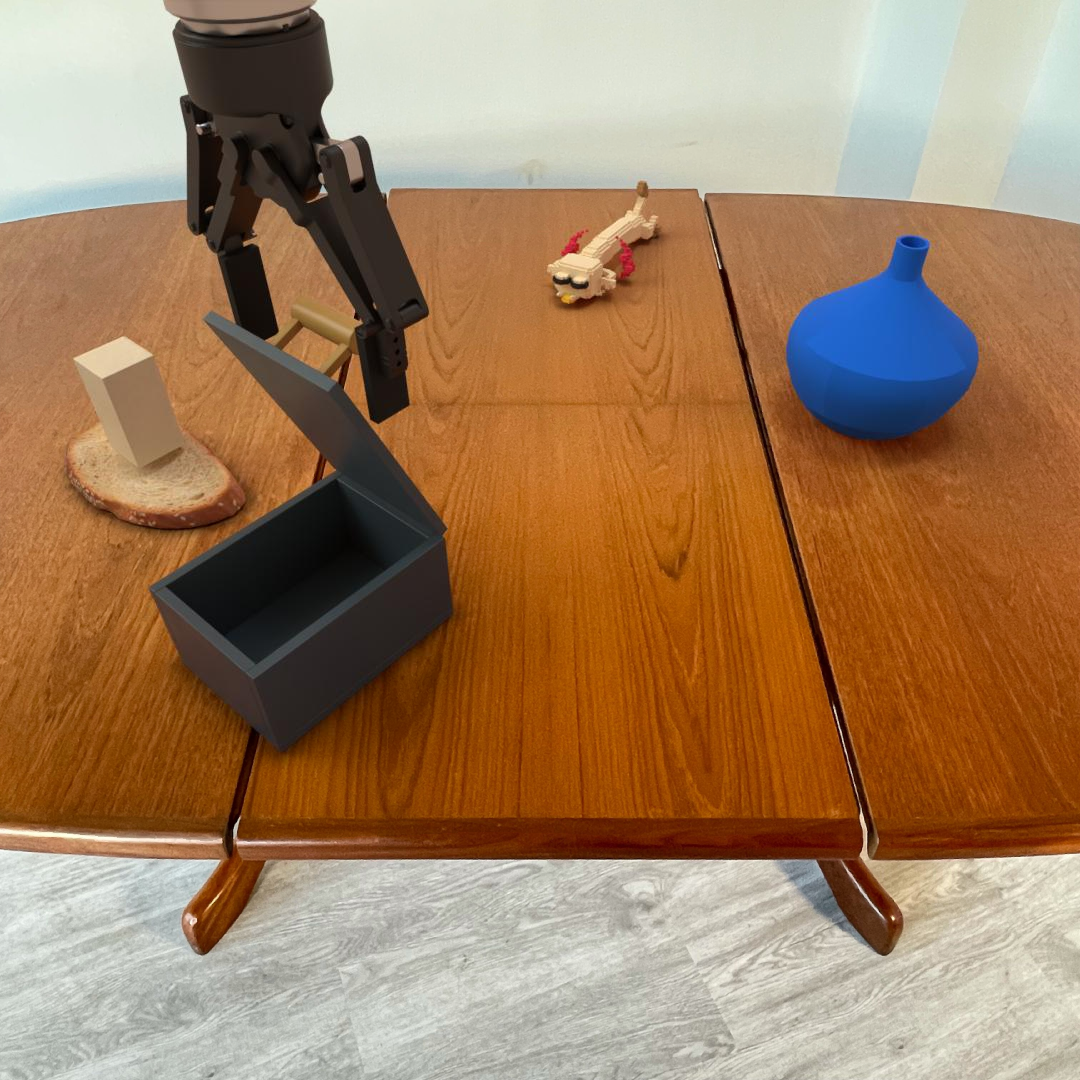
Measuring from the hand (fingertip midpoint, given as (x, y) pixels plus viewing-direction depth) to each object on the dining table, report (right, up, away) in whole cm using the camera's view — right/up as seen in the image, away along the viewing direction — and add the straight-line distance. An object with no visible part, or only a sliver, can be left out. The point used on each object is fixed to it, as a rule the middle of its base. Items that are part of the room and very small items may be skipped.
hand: (322, 374), depth 59 cm
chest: (-3, -19, +13) cm, 23 cm away
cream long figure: (+23, +25, +59) cm, 68 cm away
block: (-23, -2, +26) cm, 35 cm away
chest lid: (0, -4, +3) cm, 5 cm away
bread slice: (-23, -5, +28) cm, 37 cm away
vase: (+49, +2, +35) cm, 61 cm away
